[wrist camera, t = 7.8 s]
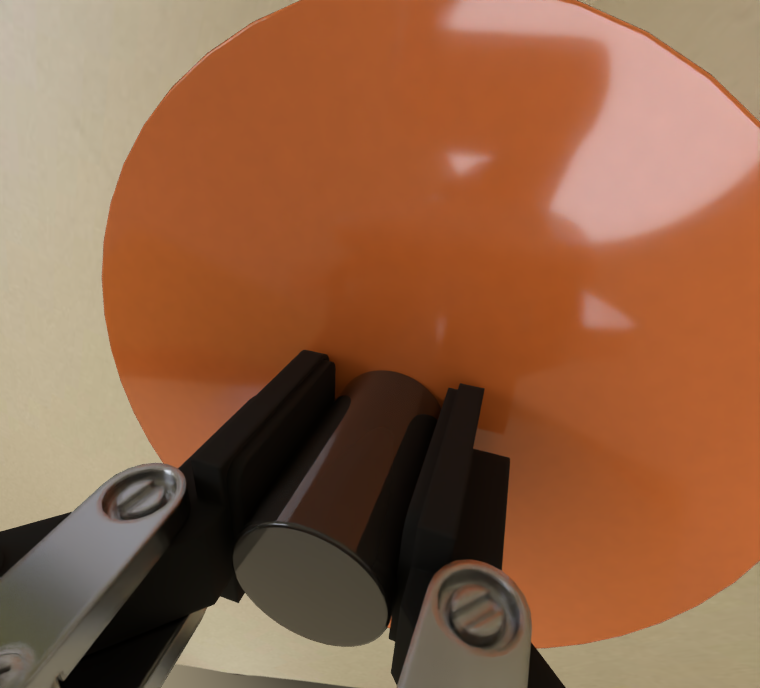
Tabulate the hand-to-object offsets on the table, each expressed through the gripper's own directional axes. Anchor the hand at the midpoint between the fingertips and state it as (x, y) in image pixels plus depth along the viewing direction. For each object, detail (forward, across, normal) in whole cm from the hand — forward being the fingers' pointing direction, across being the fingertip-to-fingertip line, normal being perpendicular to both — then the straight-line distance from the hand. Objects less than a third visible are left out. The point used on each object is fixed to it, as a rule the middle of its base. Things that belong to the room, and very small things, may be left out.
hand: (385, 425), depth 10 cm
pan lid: (+1, 0, 0) cm, 1 cm away
